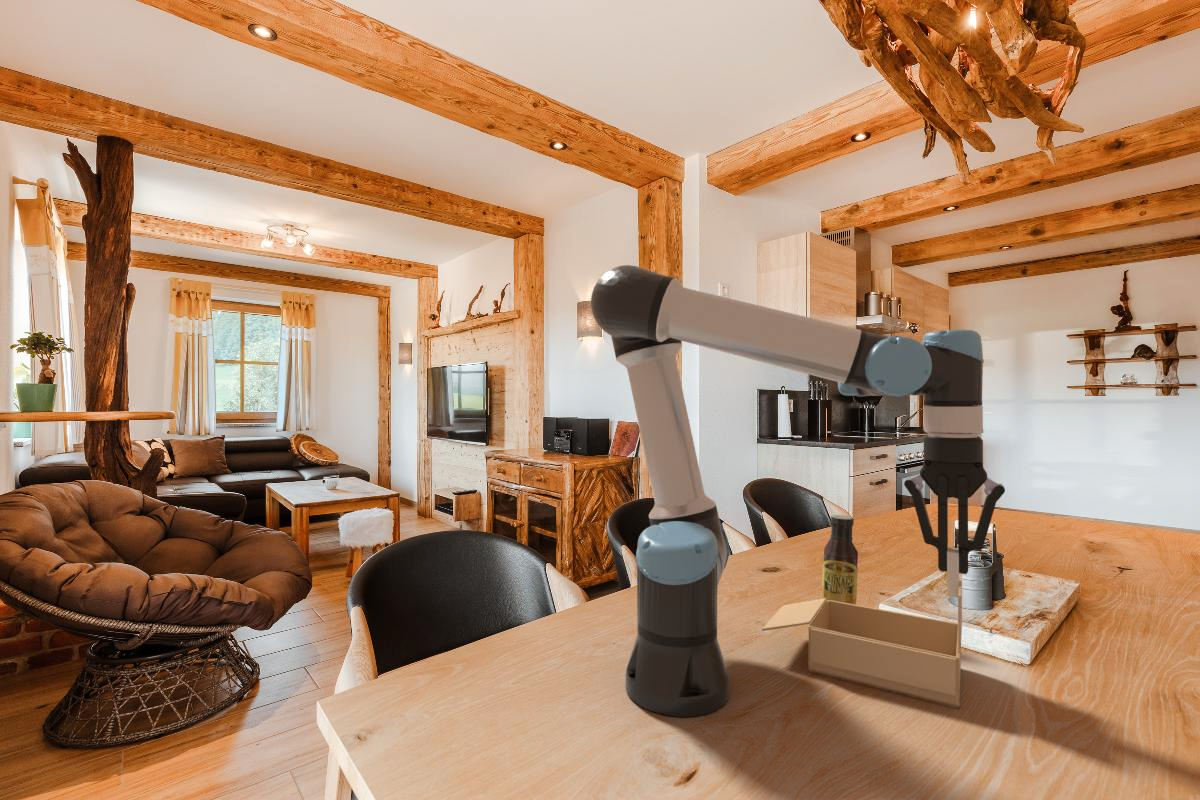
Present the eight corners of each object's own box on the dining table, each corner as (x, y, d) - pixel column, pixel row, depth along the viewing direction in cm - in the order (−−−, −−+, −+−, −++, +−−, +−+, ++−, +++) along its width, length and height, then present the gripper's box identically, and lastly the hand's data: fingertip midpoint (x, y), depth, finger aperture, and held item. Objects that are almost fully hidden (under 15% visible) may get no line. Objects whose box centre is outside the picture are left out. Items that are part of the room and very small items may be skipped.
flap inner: (809, 621, 91) (761, 629, 95) (809, 623, 90) (762, 630, 95) (826, 598, 101) (782, 605, 105) (826, 599, 101) (783, 606, 105)
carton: (959, 710, 79) (959, 659, 79) (807, 672, 90) (807, 627, 90) (960, 667, 91) (960, 623, 91) (827, 638, 102) (827, 599, 102)
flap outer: (960, 653, 80) (960, 596, 80) (958, 653, 80) (958, 595, 80) (961, 623, 90) (961, 572, 90) (959, 622, 90) (959, 572, 90)
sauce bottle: (819, 621, 110) (819, 517, 110) (823, 610, 115) (823, 511, 115) (856, 628, 107) (856, 521, 107) (858, 616, 112) (859, 514, 112)
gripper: (1004, 434, 85) (1005, 594, 85) (905, 432, 92) (906, 579, 92) (1007, 438, 79) (1008, 610, 79) (900, 435, 86) (901, 593, 86)
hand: (953, 593), depth 85 cm, fingers closed
